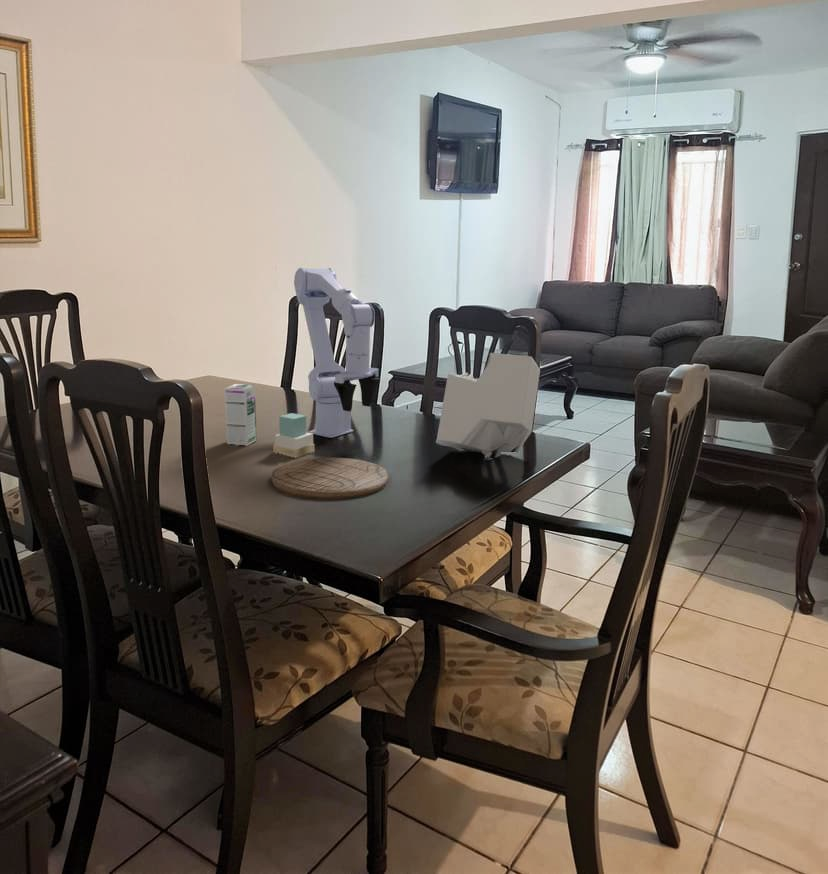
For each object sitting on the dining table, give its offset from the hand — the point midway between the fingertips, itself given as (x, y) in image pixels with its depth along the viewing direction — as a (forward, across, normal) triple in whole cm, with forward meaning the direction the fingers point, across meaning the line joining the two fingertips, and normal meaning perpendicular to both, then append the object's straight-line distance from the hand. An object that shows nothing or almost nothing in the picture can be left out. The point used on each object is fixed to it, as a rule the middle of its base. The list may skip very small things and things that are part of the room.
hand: (356, 408), depth 194 cm
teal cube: (+5, -14, +8) cm, 17 cm away
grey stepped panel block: (+10, +14, -29) cm, 34 cm away
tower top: (+8, -14, +8) cm, 18 cm away
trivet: (+10, -25, -13) cm, 30 cm away
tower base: (+10, -14, +8) cm, 19 cm away
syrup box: (+10, -16, +24) cm, 31 cm away
